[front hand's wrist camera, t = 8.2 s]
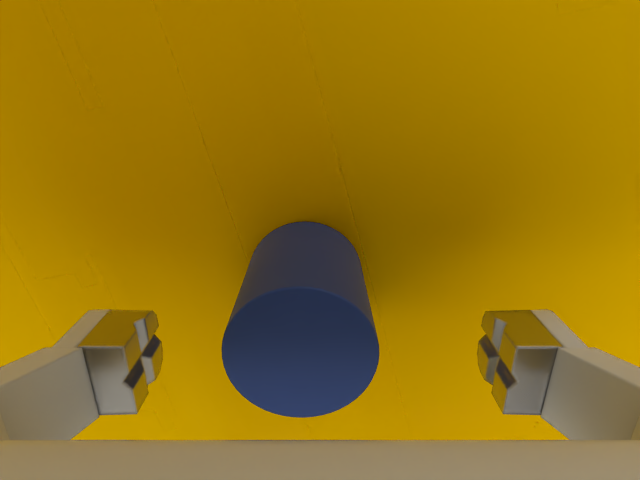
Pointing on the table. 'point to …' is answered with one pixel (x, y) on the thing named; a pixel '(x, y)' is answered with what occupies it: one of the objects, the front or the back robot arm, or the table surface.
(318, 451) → the front robot arm
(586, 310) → the table surface
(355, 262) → the canister
